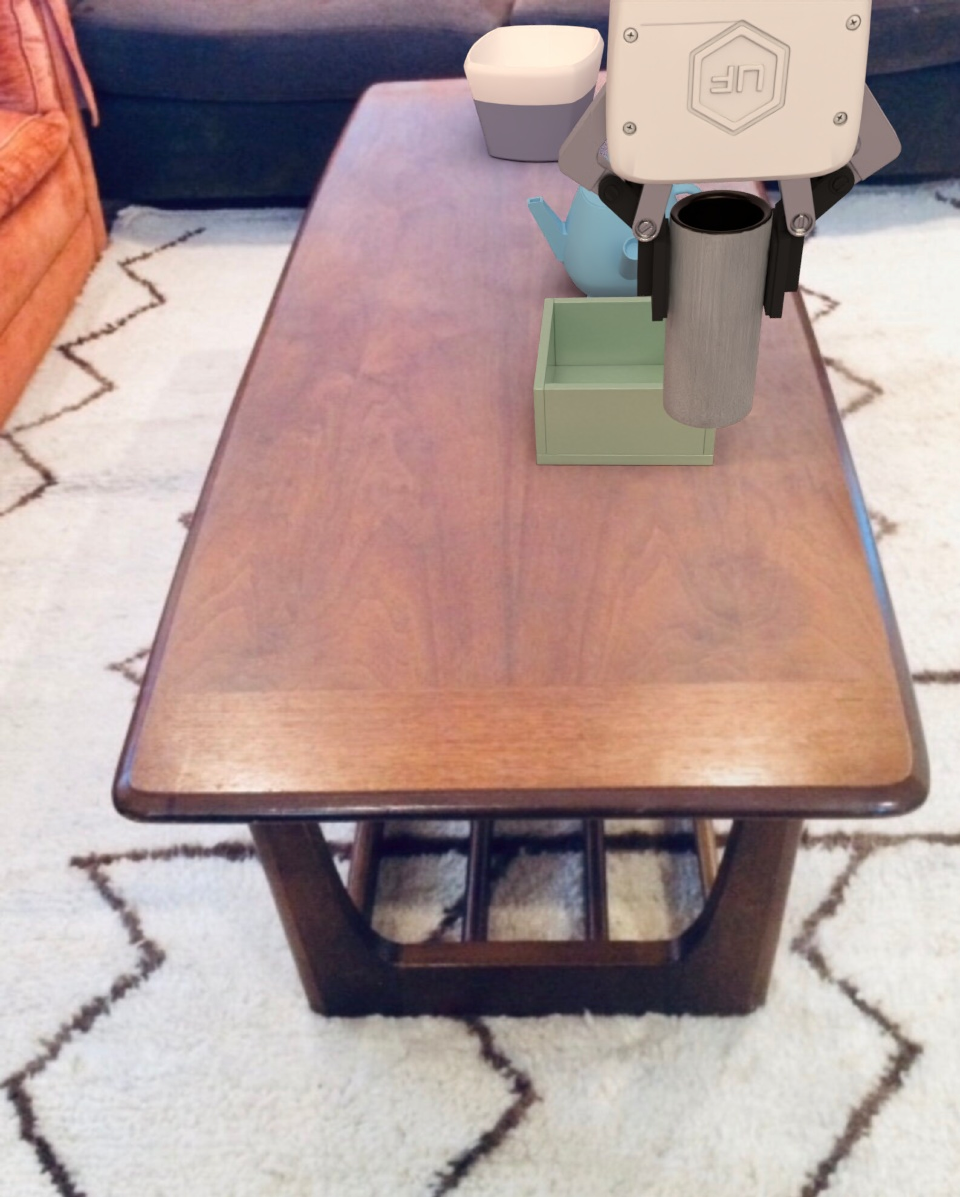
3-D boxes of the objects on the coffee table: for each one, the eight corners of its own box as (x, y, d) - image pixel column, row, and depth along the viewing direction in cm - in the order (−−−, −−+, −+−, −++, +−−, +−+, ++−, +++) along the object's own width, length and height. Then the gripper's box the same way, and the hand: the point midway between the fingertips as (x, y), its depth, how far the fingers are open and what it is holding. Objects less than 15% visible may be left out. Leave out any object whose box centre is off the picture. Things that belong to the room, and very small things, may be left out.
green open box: (705, 369, 94) (711, 295, 89) (712, 465, 84) (719, 388, 80) (547, 370, 96) (544, 297, 91) (536, 465, 86) (533, 389, 81)
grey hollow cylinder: (748, 379, 57) (768, 186, 50) (756, 429, 54) (778, 231, 47) (660, 381, 58) (667, 191, 51) (663, 431, 55) (671, 235, 48)
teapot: (514, 286, 107) (509, 172, 99) (610, 236, 113) (612, 125, 105) (632, 340, 98) (636, 219, 91) (729, 283, 105) (740, 165, 97)
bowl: (457, 166, 129) (449, 67, 121) (494, 117, 139) (488, 22, 132) (585, 173, 125) (585, 70, 117) (613, 122, 135) (614, 24, 128)
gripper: (506, -110, 38) (532, 351, 51) (1020, -148, 36) (914, 343, 48) (521, -153, 43) (541, 273, 56) (968, -189, 41) (885, 263, 54)
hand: (714, 301), depth 52 cm, fingers closed on grey hollow cylinder, 4 cm apart
